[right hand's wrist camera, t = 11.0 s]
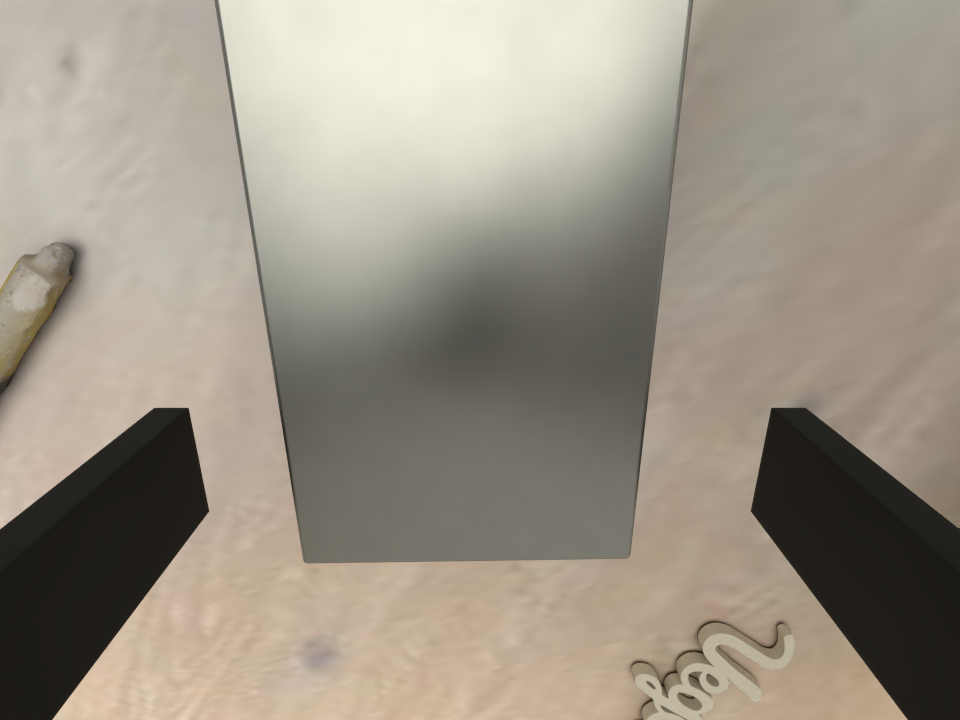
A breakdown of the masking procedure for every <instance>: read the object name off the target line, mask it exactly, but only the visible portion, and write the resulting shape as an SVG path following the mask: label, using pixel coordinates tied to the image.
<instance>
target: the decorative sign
mask: <svg viewBox="0 0 960 720" xmlns="http://www.w3.org/2000/svg"><path fill="white" fill-rule="evenodd" d="M777 630H778V641H777V644H776V645H775V646H774V647H773V648H771V649H768V648H764V647H762V646H760V645H758V644H757V643H755V642H754V641H752V640H751V639H749V638H748V637H746V636H745V635H743V634H741V633H740V632H738V631H737V630H735V629H734V628H732V627H730V626H728V625H725V624H722V623H710V624H707V625H705V626H704V627H703V628H702V629H701V630H700V631H699V633H698V642H699V644H700V646H701V648H702V651H703V653H704V654H702V653H697V652H689V653H686V654H684V655H682V656H681V657H680V658H679V659H678V660H677V663H676V669H677V671H678V673H673V674H670V675H668V676H667V677H666V678H665V681H664V686H665V687H663V686H661V684H660V682H659V679H658V676H657V673H656V671H655V670H654V669H653V668H652V667H651V666H650V665H648V664H645V663H636V664H634V665H633V666H632V674H633V677H634V680H635V683H636V685H637V686H638V687H639V688H640V689H641V690H642V691H643V692H645V693H646V694H647V695H648V696H650V697H651V698H652V699H653V701H652V702H649V703H648V704H646V705H645V706H644V707H643V709H642V717H643V720H701V719H702V715H701V714H704V713H706V712H708V711H710V710H711V709H712V708H713V706H714V702H713V700H712V697H711V695H710V693H712V694H717V693H721V692H724V691H725V690H727V688H728V686H729V682H728V679H729V680H730V681H731V682H732V683H733V684H734V685H736V686H737V687H738V688H739V689H740V690H741V691H742V692H744V693H745V694H746V695H747V696H748V697H749V698H750V699H751V700H752V702H753V703H756V702H758V701H759V700H760V699H761V698H762V691H761V689H760V687H759V685H758V683H757V682H756V680H755V678H754V677H753V676H752V675H751V674H749V673H748V672H747V671H746V670H744V669H743V668H742V667H740V666H739V665H738V664H736V663H735V662H734V661H732V660H731V659H730V658H729V657H728V656H727V655H726V654H724V653H723V652H722V651H721V650H720V649H719V648H718V647H717V646H718V645H722V644H723V645H727V646H729V647H732V648H734V649H736V650H737V651H739V652H740V653H742V654H743V655H745V656H746V657H748V658H749V659H751V660H753V661H754V662H756V663H758V664H759V665H761V666H763V667H765V668H767V669H772V670H777V669H781V668H784V667H785V666H786V665H787V664H788V663H789V662H790V660H791V658H792V656H793V653H794V648H795V640H794V636H793V634H792V633H791V631H790V630H789V628H788V627H787V625H785V624H780V625H778V627H777ZM691 672H696V675H697V677H698V679H699V681H698V680H696V679H695V678H692V677H690V676H688V675H689V674H690V673H691ZM707 674H710V675H707ZM727 678H728V679H727ZM679 693H687V694H689V695H692V696H694V697H695V698H694V699H688V698H686V697H684V696H682V695H681V694H679Z"/></svg>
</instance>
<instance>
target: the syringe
mask: <svg viewBox="0 0 960 720" xmlns="http://www.w3.org/2000/svg"><path fill="white" fill-rule="evenodd" d="M74 256H75V252H74V250H73V249H72V248H71V246H69V245H66V244H63V243H58V242H57V243H52V244H51V245H50V246H46V247H44V248H42V250H41V251H40V252H39V254H38V255H24V256H22V257H21V258H20V259H19V260H18V261H17V263H16V264H15V266H14V268H13V269H12V271H11V273H10V274H9V276H8V278H7V279H6V281H5V283H4V284H3V286H2V288H1V290H0V394H1V393H2V392H3V391H4V390H5V388H6V387H7V386H8V385H9V383H10V381H11V379H12V377H13V375H14V373H15V371H16V369H17V366H18V365H19V363H20V361H21V359H22V356H23V354H24V353H25V351H26V350H27V348H28V347H29V345H30V344H31V342H32V341H33V339H34V338H35V335H36V333H37V332H38V330H39V329H40V327H41V326H42V324H43V323H44V322H45V321H46V320H47V319H48V318H49V316H50V315H51V313H52V311H53V310H54V307H55V305H56V302H57V299H58V297H59V296H60V295H61V293H62V291H63V289H64V287H65V286H66V285H67V283H68V282H69V281H70V280H71V279H72V278H73V276H72V275H70V273H69V270H70V265H71V263H72V261H73V259H74Z"/></svg>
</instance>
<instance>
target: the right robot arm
mask: <svg viewBox="0 0 960 720" xmlns="http://www.w3.org/2000/svg"><path fill="white" fill-rule="evenodd" d="M208 512H209V508H208V503H207V498H206V493H205V488H204V483H203V478H202V473H201V468H200V463H199V458H198V453H197V448H196V443H195V438H194V433H193V428H192V423H191V418H190V413H189V408H154V409H153V410H151V411H150V412H149V413H147V414H146V415H145V416H144V417H142V418H141V419H140V420H139V421H137V422H136V423H135V424H133V425H132V426H131V427H130V428H128V429H127V430H126V431H125V432H123V433H122V434H121V435H120V436H118V437H117V438H116V439H114V440H113V441H112V442H111V443H109V444H108V445H107V446H106V447H104V448H103V449H102V450H100V451H99V452H98V453H97V454H95V455H94V456H93V457H92V458H90V459H89V460H88V461H87V462H85V463H84V464H83V465H81V466H80V467H79V468H78V469H76V470H75V471H74V472H73V473H71V474H70V475H69V476H67V477H66V478H65V479H64V480H62V481H61V482H60V483H59V484H57V485H56V486H55V487H54V488H52V489H51V490H50V491H48V492H47V493H46V494H45V495H43V496H42V497H41V498H40V499H38V500H37V501H36V502H34V503H33V504H32V505H31V506H29V507H28V508H27V509H26V510H24V511H23V512H22V513H21V514H19V515H18V516H17V517H15V518H14V519H13V520H12V521H10V522H9V523H8V524H7V525H5V526H4V527H3V528H1V529H0V720H52V719H53V718H54V717H55V715H56V714H57V713H58V711H59V710H60V709H61V707H62V706H63V705H64V703H65V702H66V701H67V699H68V698H69V697H70V695H71V694H72V693H73V691H74V690H75V689H76V687H77V686H78V685H79V683H80V682H81V681H82V679H83V678H84V677H85V675H86V674H87V673H88V671H89V670H90V669H91V667H92V666H93V665H94V663H95V662H96V661H97V659H98V658H99V657H100V655H101V654H102V653H103V651H104V650H105V649H106V648H107V646H108V645H109V644H110V642H111V641H112V640H113V638H114V637H115V636H116V634H117V633H118V632H119V630H120V629H121V628H122V626H123V625H124V624H125V622H126V621H127V620H128V618H129V617H130V616H131V614H132V613H133V612H134V610H135V609H136V608H137V606H138V605H139V604H140V602H141V601H142V600H143V598H144V597H145V596H146V594H147V593H148V592H149V590H150V589H151V588H152V586H153V585H154V584H155V582H156V581H157V580H158V578H159V577H160V576H161V574H162V573H163V572H164V570H165V569H166V568H167V566H168V565H169V564H170V563H171V561H172V560H173V559H174V557H175V556H176V555H177V553H178V552H179V551H180V549H181V548H182V547H183V545H184V544H185V543H186V541H187V540H188V539H189V537H190V536H191V535H192V533H193V532H194V531H195V529H196V528H197V527H198V525H199V524H200V523H201V521H202V520H203V519H204V517H205V516H206V515H207V513H208ZM751 512H752V513H753V515H754V516H755V517H756V519H757V520H758V521H759V523H760V524H761V525H762V527H763V528H764V529H765V531H766V532H767V533H768V535H769V536H770V537H771V539H772V540H773V541H774V543H775V544H776V545H777V547H778V548H779V549H780V551H781V552H782V553H783V555H784V556H785V557H786V559H787V560H788V561H789V563H790V564H791V565H792V566H793V568H794V569H795V570H796V572H797V573H798V574H799V576H800V577H801V578H802V580H803V581H804V582H805V584H806V585H807V586H808V588H809V589H810V590H811V592H812V593H813V594H814V596H815V597H816V598H817V600H818V601H819V602H820V604H821V605H822V606H823V608H824V609H825V610H826V612H827V613H828V614H829V616H830V617H831V618H832V620H833V621H834V622H835V624H836V625H837V626H838V628H839V629H840V630H841V632H842V633H843V634H844V636H845V637H846V638H847V640H848V641H849V642H850V644H851V645H852V646H853V648H854V649H855V650H856V652H857V653H858V654H859V655H860V657H861V658H862V659H863V661H864V662H865V663H866V665H867V666H868V667H869V669H870V670H871V671H872V673H873V674H874V675H875V677H876V678H877V679H878V681H879V682H880V683H881V685H882V686H883V687H884V689H885V690H886V691H887V693H888V694H889V695H890V697H891V698H892V699H893V701H894V702H895V703H896V705H897V706H898V707H899V709H900V710H901V711H902V713H903V714H904V715H905V717H906V718H907V719H908V720H960V528H957V527H956V526H955V525H953V524H952V523H951V522H950V521H948V520H947V519H946V518H945V517H943V516H942V515H941V514H939V513H938V512H937V511H936V510H934V509H933V508H932V507H931V506H929V505H928V504H927V503H926V502H924V501H923V500H922V499H920V498H919V497H918V496H917V495H915V494H914V493H913V492H912V491H910V490H909V489H908V488H906V487H905V486H904V485H903V484H901V483H900V482H899V481H898V480H896V479H895V478H894V477H893V476H891V475H890V474H889V473H887V472H886V471H885V470H884V469H882V468H881V467H880V466H879V465H877V464H876V463H875V462H873V461H872V460H871V459H870V458H868V457H867V456H866V455H865V454H863V453H862V452H861V451H860V450H858V449H857V448H856V447H854V446H853V445H852V444H851V443H849V442H848V441H847V440H846V439H844V438H843V437H842V436H840V435H839V434H838V433H837V432H835V431H834V430H833V429H832V428H830V427H829V426H828V425H827V424H825V423H824V422H823V421H821V420H820V419H819V418H818V417H816V416H815V415H814V414H813V413H811V412H810V411H809V410H807V409H806V408H771V413H770V418H769V423H768V428H767V433H766V438H765V443H764V448H763V453H762V458H761V463H760V468H759V473H758V478H757V483H756V488H755V493H754V498H753V503H752V508H751Z"/></svg>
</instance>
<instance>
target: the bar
mask: <svg viewBox="0 0 960 720" xmlns="http://www.w3.org/2000/svg"><path fill="white" fill-rule="evenodd" d="M692 5H693V0H215V6H216V12H217V18H218V25H219V31H220V37H221V44H222V50H223V56H224V62H225V69H226V75H227V81H228V88H229V94H230V100H231V107H232V113H233V119H234V126H235V132H236V138H237V145H238V151H239V157H240V163H241V170H242V176H243V182H244V189H245V195H246V201H247V208H248V214H249V220H250V227H251V233H252V239H253V245H254V252H255V258H256V264H257V271H258V277H259V283H260V290H261V296H262V302H263V309H264V315H265V321H266V328H267V334H268V340H269V346H270V353H271V359H272V365H273V372H274V378H275V384H276V391H277V397H278V403H279V410H280V416H281V422H282V429H283V435H284V441H285V447H286V454H287V460H288V466H289V473H290V479H291V485H292V492H293V498H294V504H295V511H296V517H297V523H298V529H299V536H300V542H301V548H302V555H303V561H304V562H305V563H360V562H428V561H496V560H563V559H626V558H629V556H630V552H631V544H632V535H633V526H634V517H635V508H636V499H637V491H638V482H639V473H640V464H641V455H642V446H643V438H644V429H645V420H646V411H647V402H648V394H649V385H650V376H651V367H652V358H653V349H654V341H655V332H656V323H657V314H658V305H659V296H660V288H661V279H662V270H663V261H664V252H665V244H666V235H667V226H668V217H669V208H670V199H671V191H672V182H673V173H674V164H675V155H676V146H677V138H678V129H679V120H680V111H681V102H682V94H683V85H684V76H685V67H686V58H687V49H688V41H689V32H690V23H691V14H692Z"/></svg>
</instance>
